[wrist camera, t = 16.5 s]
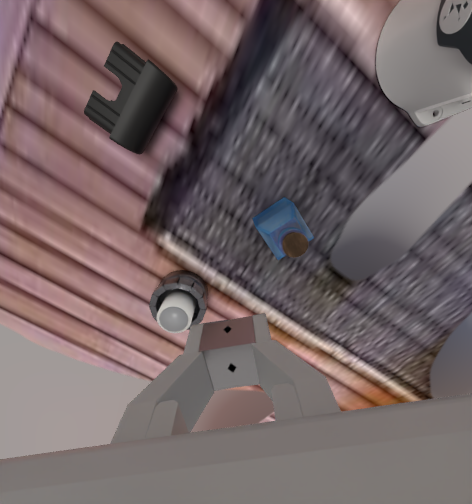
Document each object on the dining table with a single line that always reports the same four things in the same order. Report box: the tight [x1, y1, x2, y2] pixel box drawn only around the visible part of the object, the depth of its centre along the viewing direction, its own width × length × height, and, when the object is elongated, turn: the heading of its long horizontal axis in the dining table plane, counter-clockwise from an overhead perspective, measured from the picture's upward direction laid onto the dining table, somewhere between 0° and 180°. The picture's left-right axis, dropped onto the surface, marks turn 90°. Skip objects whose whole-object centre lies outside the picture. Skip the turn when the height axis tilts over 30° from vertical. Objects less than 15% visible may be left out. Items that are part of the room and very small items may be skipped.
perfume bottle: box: [252, 197, 314, 260], centre depth 34 cm, size 6×6×12 cm
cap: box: [157, 288, 196, 333], centre depth 39 cm, size 5×5×5 cm
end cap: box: [84, 42, 177, 154], centre depth 31 cm, size 10×7×7 cm
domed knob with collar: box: [149, 270, 208, 330], centre depth 42 cm, size 9×9×5 cm
